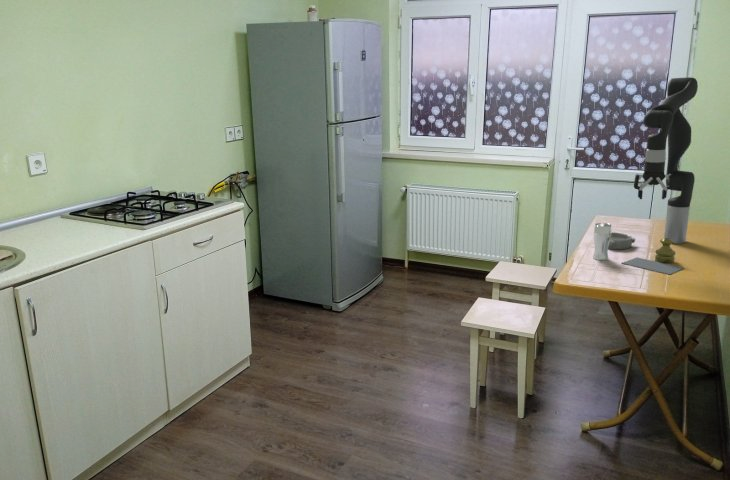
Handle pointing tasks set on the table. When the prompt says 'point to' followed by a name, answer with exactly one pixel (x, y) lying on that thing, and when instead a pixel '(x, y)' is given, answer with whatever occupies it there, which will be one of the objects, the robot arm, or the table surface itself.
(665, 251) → the brass door knob
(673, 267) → the mat
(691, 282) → the table surface
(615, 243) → the dish
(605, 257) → the beer glass
